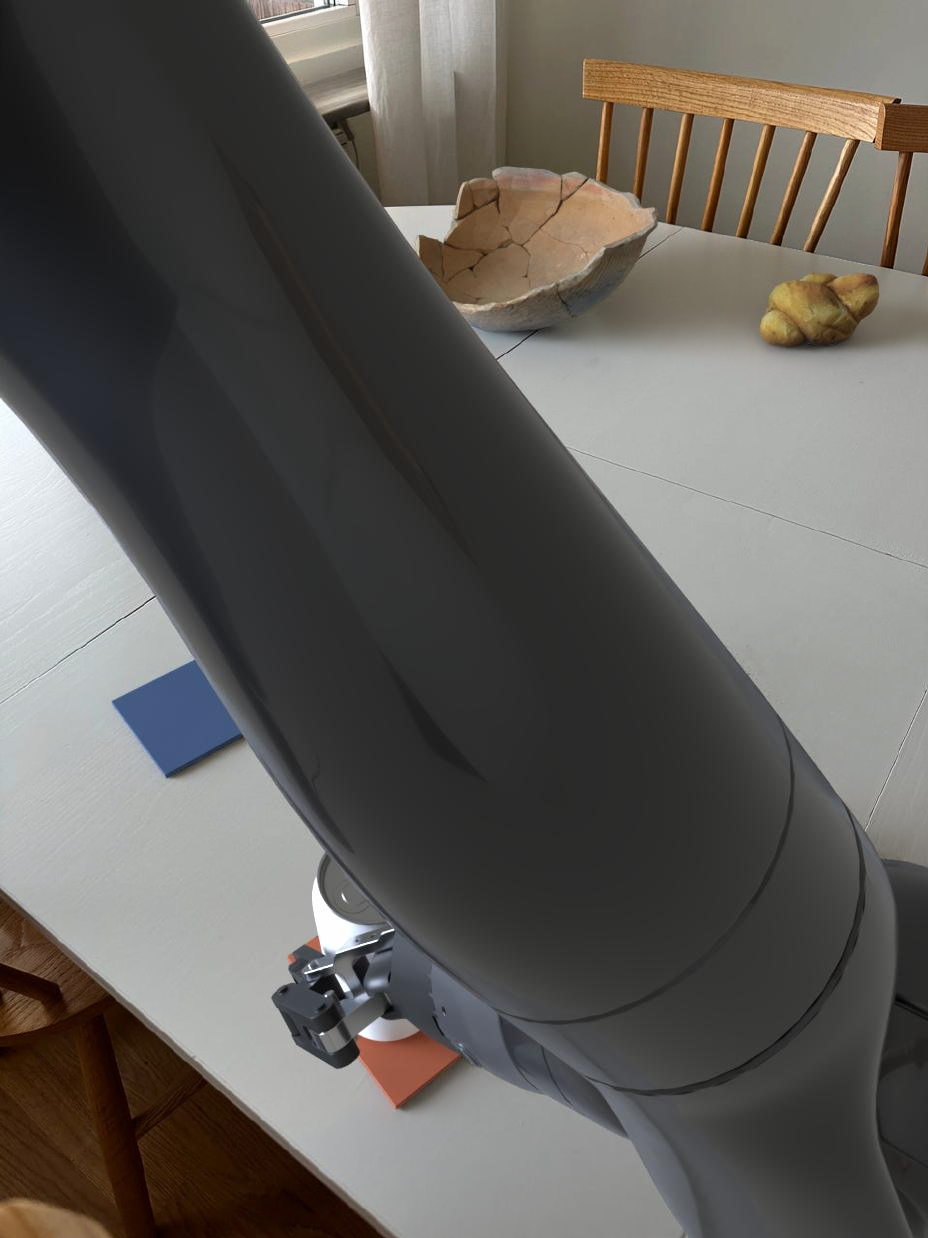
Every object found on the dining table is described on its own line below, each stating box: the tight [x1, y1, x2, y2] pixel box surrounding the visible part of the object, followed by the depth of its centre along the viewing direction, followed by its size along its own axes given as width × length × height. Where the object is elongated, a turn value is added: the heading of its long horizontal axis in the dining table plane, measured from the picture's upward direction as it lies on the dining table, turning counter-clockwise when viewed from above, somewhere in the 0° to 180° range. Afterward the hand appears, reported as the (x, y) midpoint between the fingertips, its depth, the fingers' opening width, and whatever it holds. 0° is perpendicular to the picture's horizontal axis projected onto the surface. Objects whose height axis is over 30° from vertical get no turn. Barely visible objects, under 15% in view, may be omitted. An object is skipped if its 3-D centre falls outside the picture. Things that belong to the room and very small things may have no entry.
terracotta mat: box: [286, 934, 462, 1110], centre depth 57 cm, size 11×11×1 cm
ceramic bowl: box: [413, 166, 660, 333], centre depth 118 cm, size 30×27×15 cm
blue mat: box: [111, 659, 244, 779], centre depth 73 cm, size 12×9×1 cm
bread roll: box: [758, 271, 880, 349], centre depth 113 cm, size 13×10×8 cm
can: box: [311, 851, 420, 1041], centre depth 52 cm, size 6×6×12 cm
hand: (374, 918), depth 52 cm, fingers open, 8 cm apart
